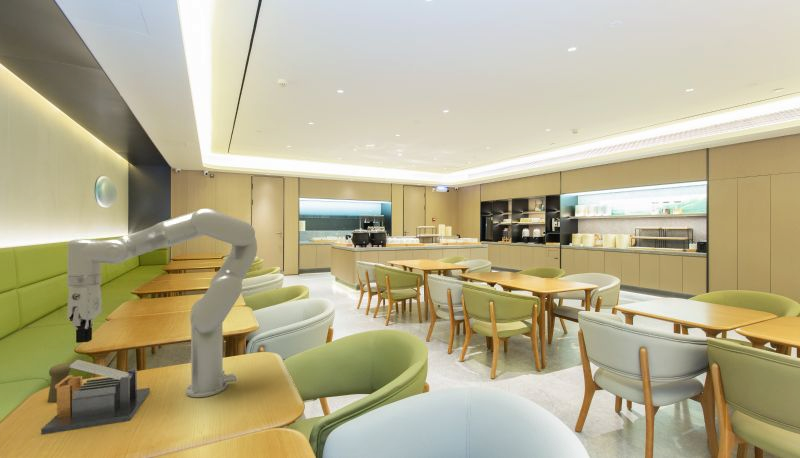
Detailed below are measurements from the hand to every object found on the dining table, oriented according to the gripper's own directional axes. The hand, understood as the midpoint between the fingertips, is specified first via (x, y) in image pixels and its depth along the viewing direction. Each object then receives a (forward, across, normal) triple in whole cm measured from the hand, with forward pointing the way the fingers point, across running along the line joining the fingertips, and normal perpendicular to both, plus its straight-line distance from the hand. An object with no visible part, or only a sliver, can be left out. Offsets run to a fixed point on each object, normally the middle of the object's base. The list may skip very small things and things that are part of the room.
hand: (84, 341), depth 106 cm
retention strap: (+10, 0, -4) cm, 11 cm away
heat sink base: (+22, 0, -4) cm, 22 cm away
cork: (+22, +14, +12) cm, 29 cm away
